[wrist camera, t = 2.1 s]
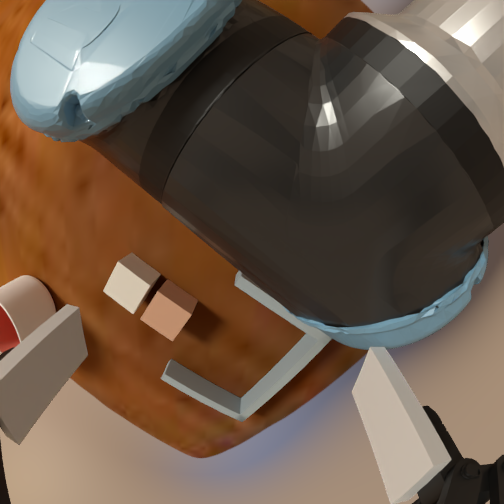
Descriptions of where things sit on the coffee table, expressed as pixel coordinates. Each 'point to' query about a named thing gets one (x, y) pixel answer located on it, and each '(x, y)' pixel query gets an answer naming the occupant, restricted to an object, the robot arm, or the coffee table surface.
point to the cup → (23, 310)
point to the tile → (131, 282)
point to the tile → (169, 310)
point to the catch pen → (269, 383)
